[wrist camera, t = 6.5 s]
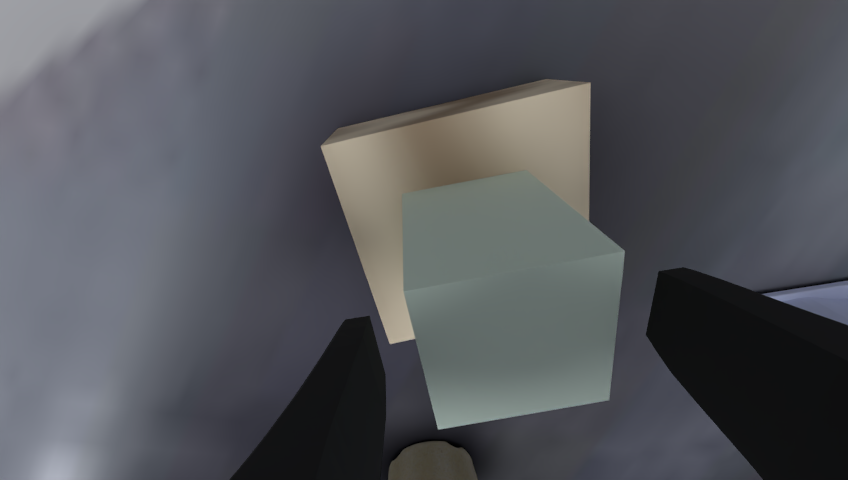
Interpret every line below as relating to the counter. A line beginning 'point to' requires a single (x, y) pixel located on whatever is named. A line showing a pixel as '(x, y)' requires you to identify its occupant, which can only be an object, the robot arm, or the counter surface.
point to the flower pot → (432, 463)
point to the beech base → (453, 167)
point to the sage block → (508, 299)
